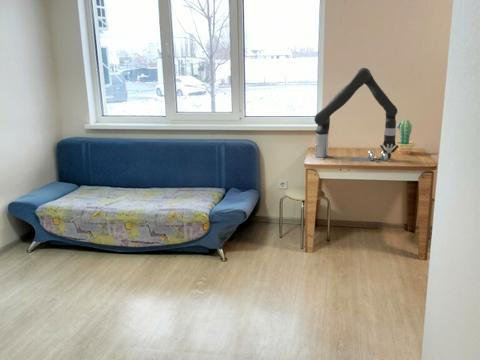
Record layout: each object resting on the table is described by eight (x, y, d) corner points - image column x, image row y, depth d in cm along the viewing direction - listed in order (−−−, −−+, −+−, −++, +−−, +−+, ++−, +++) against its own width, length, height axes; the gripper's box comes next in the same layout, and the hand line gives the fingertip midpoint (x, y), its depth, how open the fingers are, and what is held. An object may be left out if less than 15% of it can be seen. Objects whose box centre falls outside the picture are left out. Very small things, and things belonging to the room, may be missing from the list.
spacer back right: (381, 158, 320) (381, 151, 319) (380, 157, 323) (381, 151, 322) (385, 158, 320) (386, 151, 319) (385, 157, 323) (385, 151, 321)
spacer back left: (368, 158, 322) (369, 151, 320) (368, 157, 325) (368, 150, 323) (372, 158, 321) (373, 151, 320) (372, 157, 324) (372, 150, 323)
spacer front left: (370, 161, 314) (370, 154, 312) (369, 160, 317) (369, 153, 315) (374, 161, 313) (374, 154, 312) (373, 160, 316) (374, 153, 315)
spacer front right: (383, 161, 312) (383, 154, 311) (382, 160, 315) (383, 153, 314) (387, 161, 312) (388, 154, 311) (387, 160, 315) (387, 153, 313)
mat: (350, 161, 316) (350, 161, 316) (349, 157, 327) (349, 157, 327) (387, 161, 312) (387, 161, 312) (384, 158, 323) (384, 157, 323)
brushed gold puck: (375, 160, 317) (375, 157, 316) (374, 158, 320) (374, 156, 320) (381, 160, 316) (381, 157, 315) (380, 158, 320) (380, 156, 319)
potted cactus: (406, 150, 347) (408, 118, 340) (419, 154, 332) (422, 121, 326) (389, 152, 343) (391, 119, 336) (401, 156, 328) (403, 122, 322)
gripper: (381, 135, 310) (379, 159, 314) (400, 135, 308) (399, 159, 312) (379, 133, 317) (378, 157, 321) (398, 133, 315) (397, 157, 319)
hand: (388, 158), depth 317 cm, fingers closed
